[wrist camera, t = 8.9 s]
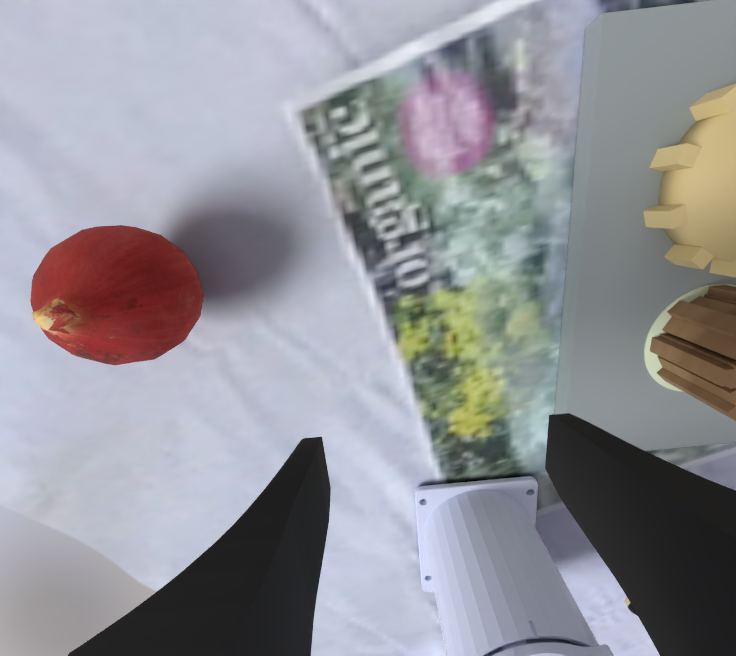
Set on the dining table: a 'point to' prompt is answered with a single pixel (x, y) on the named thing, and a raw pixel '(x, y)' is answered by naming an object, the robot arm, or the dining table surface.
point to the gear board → (648, 215)
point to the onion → (116, 295)
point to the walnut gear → (702, 348)
